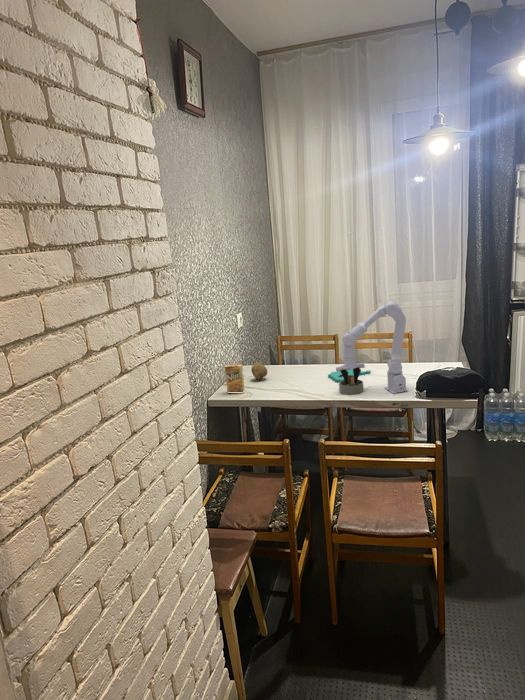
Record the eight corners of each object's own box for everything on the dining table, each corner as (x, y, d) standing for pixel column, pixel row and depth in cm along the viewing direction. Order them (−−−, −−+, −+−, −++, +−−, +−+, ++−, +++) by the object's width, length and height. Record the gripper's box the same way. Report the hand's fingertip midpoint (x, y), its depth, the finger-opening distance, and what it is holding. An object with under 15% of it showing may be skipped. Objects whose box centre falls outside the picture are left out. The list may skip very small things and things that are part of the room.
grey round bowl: (367, 392, 247) (366, 383, 246) (345, 396, 245) (344, 387, 244) (357, 386, 258) (357, 377, 257) (336, 389, 256) (335, 381, 255)
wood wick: (354, 390, 249) (354, 377, 248) (351, 390, 249) (351, 377, 247) (351, 387, 253) (350, 374, 252) (348, 388, 253) (347, 375, 251)
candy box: (227, 394, 264) (224, 366, 261) (229, 391, 268) (226, 364, 265) (243, 393, 263) (240, 366, 259) (245, 391, 267) (242, 363, 263)
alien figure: (370, 374, 278) (337, 372, 288) (370, 370, 277) (337, 368, 288) (358, 385, 261) (323, 382, 272) (358, 381, 261) (323, 378, 271)
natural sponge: (267, 376, 290) (265, 360, 288) (269, 381, 281) (267, 364, 279) (251, 378, 289) (250, 362, 287) (253, 383, 280) (251, 366, 278)
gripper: (360, 353, 253) (361, 379, 256) (333, 357, 250) (334, 383, 253) (365, 356, 246) (367, 382, 249) (338, 360, 243) (339, 387, 246)
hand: (351, 383), depth 250 cm, fingers open, 4 cm apart
